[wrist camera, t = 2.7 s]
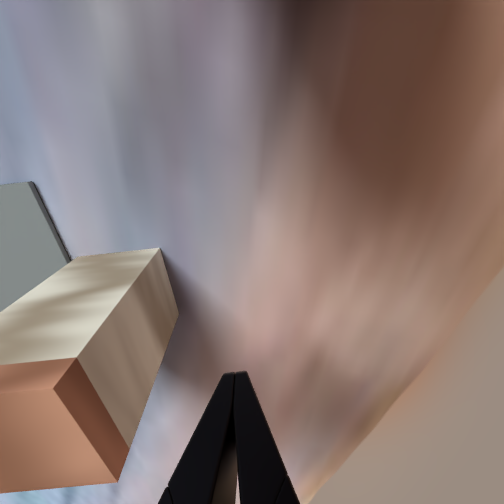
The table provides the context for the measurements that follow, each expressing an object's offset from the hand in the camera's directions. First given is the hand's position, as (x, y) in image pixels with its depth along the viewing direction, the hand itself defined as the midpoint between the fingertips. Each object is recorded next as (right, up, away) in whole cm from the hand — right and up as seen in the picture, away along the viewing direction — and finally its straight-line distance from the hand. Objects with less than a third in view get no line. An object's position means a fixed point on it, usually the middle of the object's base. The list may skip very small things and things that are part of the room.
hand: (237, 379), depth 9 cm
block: (-7, +2, +7) cm, 10 cm away
